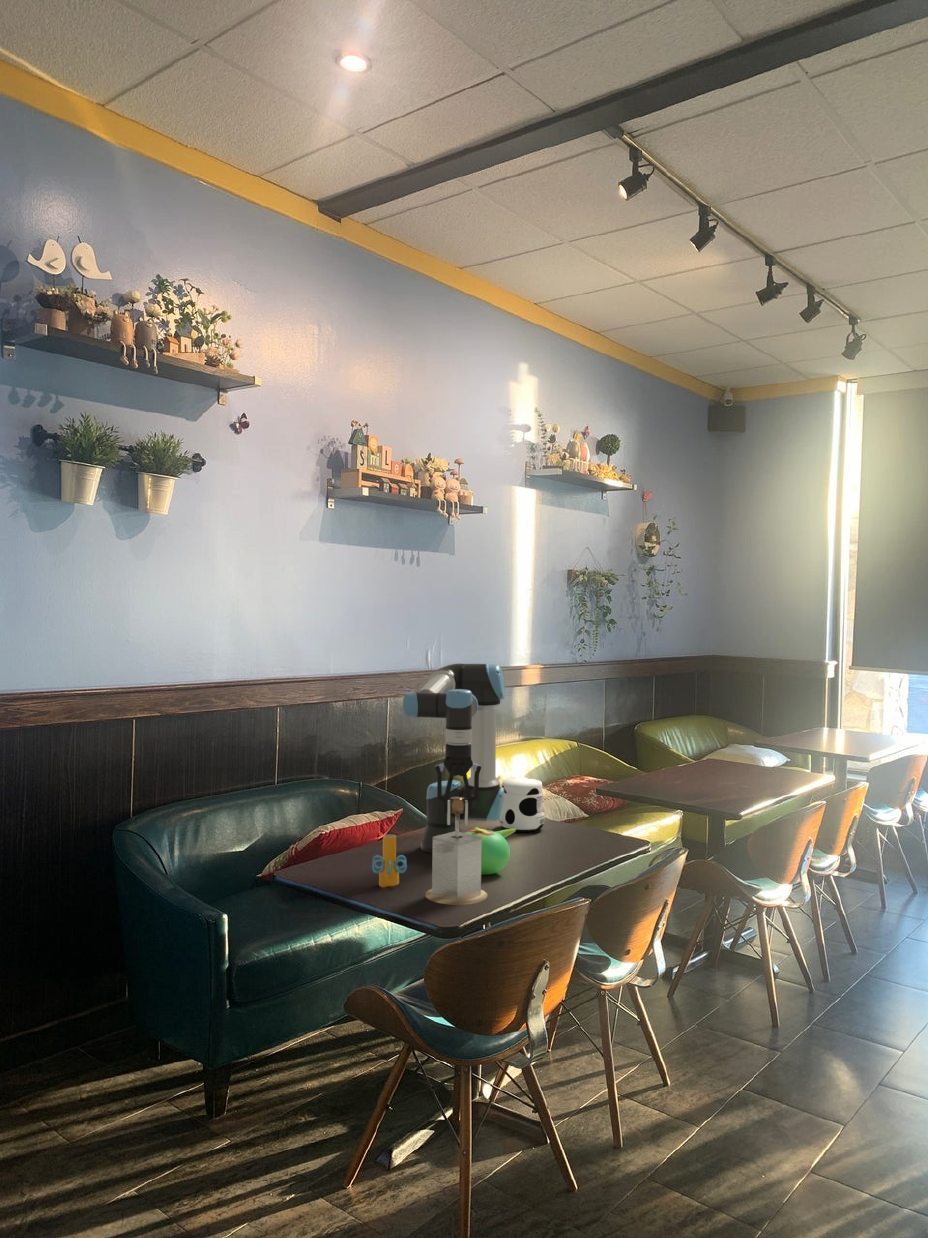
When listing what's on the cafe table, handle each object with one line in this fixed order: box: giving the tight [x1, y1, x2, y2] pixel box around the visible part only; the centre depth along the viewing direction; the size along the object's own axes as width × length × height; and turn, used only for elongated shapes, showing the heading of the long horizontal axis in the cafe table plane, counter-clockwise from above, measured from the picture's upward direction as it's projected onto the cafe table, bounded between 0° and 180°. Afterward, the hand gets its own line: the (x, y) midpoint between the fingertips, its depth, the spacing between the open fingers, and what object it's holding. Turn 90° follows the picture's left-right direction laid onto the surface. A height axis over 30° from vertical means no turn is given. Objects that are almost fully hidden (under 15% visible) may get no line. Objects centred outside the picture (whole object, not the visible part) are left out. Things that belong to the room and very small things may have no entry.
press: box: [431, 831, 482, 902], centre depth 272 cm, size 10×16×17 cm, turn 137°
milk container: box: [498, 777, 546, 833], centre depth 356 cm, size 17×17×18 cm
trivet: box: [424, 888, 488, 906], centre depth 272 cm, size 18×18×1 cm
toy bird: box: [464, 826, 516, 876], centre depth 297 cm, size 18×17×15 cm
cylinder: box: [371, 833, 408, 889], centre depth 282 cm, size 12×10×15 cm
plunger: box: [450, 797, 465, 839], centre depth 272 cm, size 7×7×20 cm
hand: (457, 823), depth 272 cm, fingers closed on plunger, 4 cm apart
